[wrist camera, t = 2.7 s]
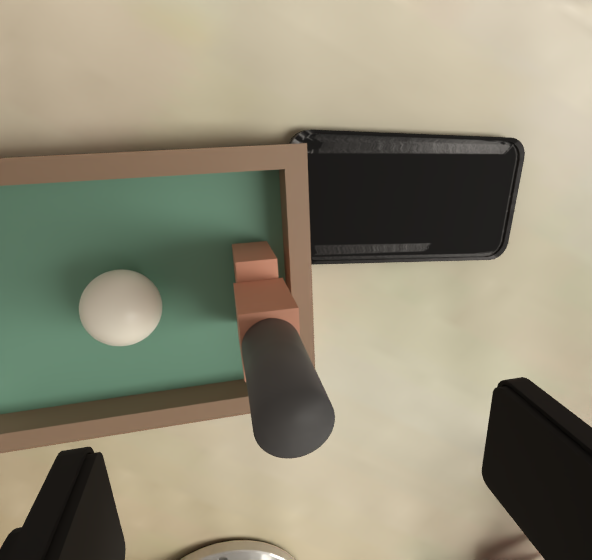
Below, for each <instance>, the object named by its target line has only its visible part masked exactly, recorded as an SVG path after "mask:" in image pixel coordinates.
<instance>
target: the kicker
mask: <svg viewBox="0 0 592 560" xmlns="http://www.w3.org/2000/svg"><path fill="white" fill-rule="evenodd" d="M232 252H233V262H234V272H235V282H236V283H233V286H234V296H235V306H236V316H237V326H238V336H239V344H240V351H241V358H242V366H243V373H244V380H245V382H246V384H247V391H248V398H249V405H250V411H251V418H252V425H253V432H254V437H255V439H256V441H257V443H258V445H259V446H260V447H261V448H262V449H263V450H264V451H265V452H267V453H269V454H271V455H273V456H276V457H280V458H297V457H301V456H304V455H307V454H309V453H311V452H313V451H315V450H316V449H318V448H319V447H320V446H321V445H322V444H323V443H324V442H325V441H326V440H327V439H328V437H329V436H330V434H331V432H332V429H333V427H334V422H335V415H334V410H333V407H332V405H331V402H330V400H329V398H328V396H327V394H326V392H325V390H324V387H323V385H322V383H321V381H320V379H319V377H318V374H317V372H316V370H315V368H314V366H313V364H312V362H311V359H310V357H309V355H308V353H307V351H306V349H305V347H304V344H303V342H302V340H301V338H300V324H299V307H298V306H297V304H296V302H295V300H294V298H293V296H292V294H291V293H290V291H289V289H288V287H287V285H286V283H285V282H284V280H283V278H278V263H277V257H276V256H275V254H274V252H273V251H272V249H271V247H270V245H269V244H268V242H267V241H261V242H250V243H238V244H232Z"/></svg>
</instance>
